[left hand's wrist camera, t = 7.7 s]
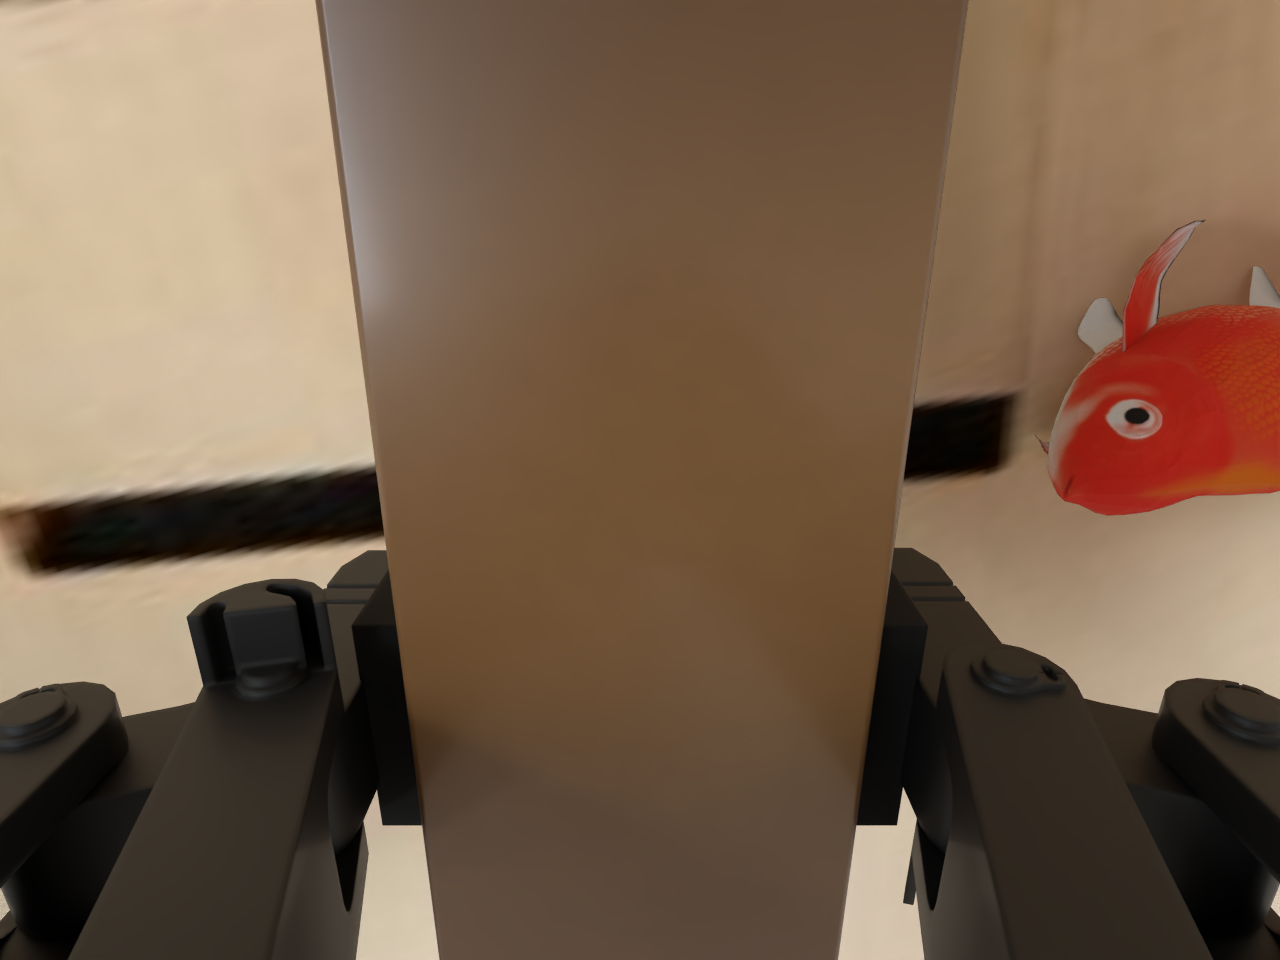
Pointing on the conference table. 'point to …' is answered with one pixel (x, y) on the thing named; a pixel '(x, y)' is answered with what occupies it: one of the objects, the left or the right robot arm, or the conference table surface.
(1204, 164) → the conference table surface
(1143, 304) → the fish
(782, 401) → the bar
